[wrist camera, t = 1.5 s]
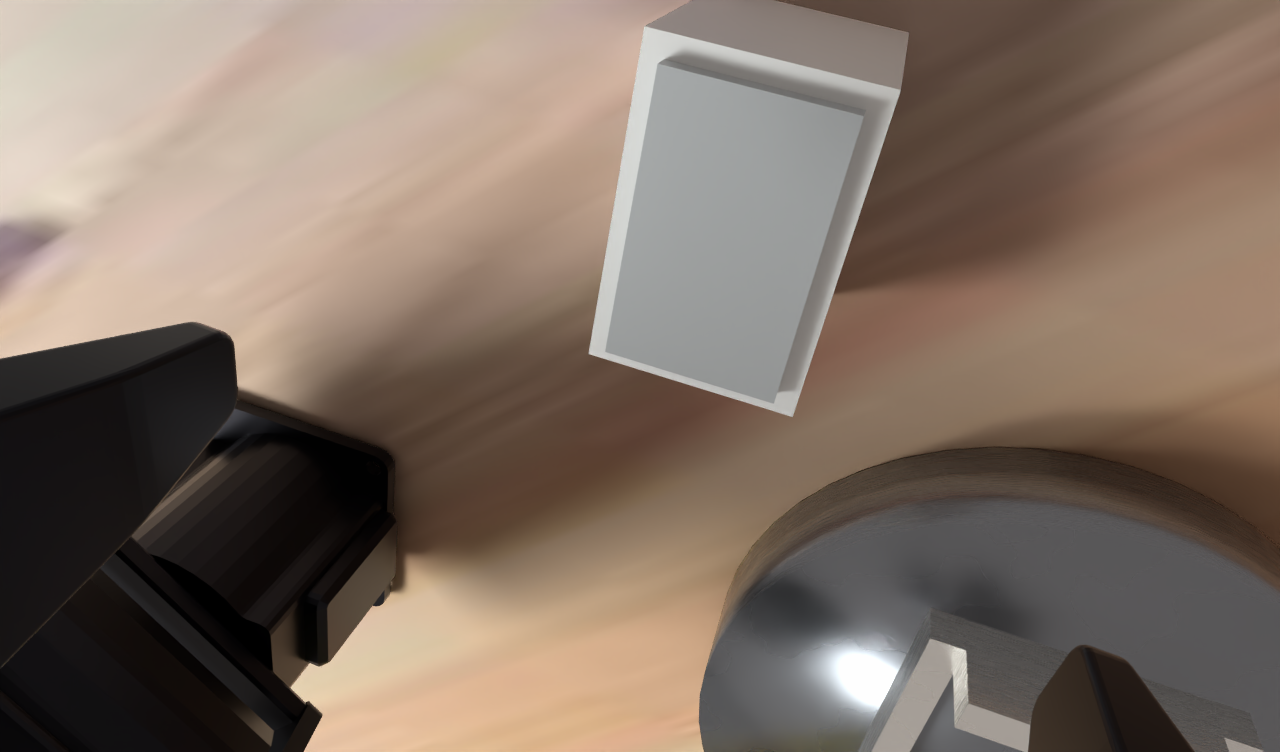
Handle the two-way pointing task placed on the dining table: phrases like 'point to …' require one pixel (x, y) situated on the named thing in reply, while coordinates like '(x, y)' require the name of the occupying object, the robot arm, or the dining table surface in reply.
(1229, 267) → the dining table surface
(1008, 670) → the grey round tray
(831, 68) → the block
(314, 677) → the dining table surface
